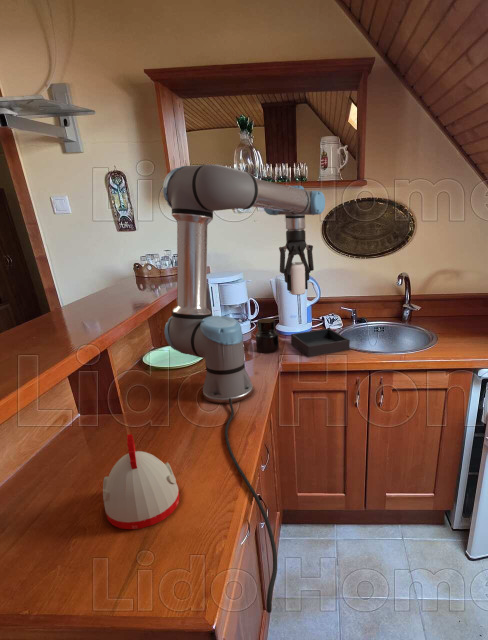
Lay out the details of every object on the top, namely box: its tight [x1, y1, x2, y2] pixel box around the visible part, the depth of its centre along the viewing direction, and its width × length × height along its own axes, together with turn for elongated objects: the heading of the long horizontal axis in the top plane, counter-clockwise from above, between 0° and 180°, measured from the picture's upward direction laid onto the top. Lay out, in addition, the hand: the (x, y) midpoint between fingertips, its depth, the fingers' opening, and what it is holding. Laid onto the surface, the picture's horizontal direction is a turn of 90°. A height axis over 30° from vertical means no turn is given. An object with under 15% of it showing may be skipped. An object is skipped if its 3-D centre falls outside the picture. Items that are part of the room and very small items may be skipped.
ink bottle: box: [255, 317, 280, 354], centre depth 165 cm, size 10×9×12 cm
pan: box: [290, 328, 350, 358], centre depth 168 cm, size 18×18×4 cm
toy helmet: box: [102, 433, 181, 530], centre depth 81 cm, size 14×14×15 cm
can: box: [289, 261, 306, 296], centre depth 170 cm, size 6×6×12 cm
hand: (297, 289), depth 172 cm, fingers closed on can, 6 cm apart
